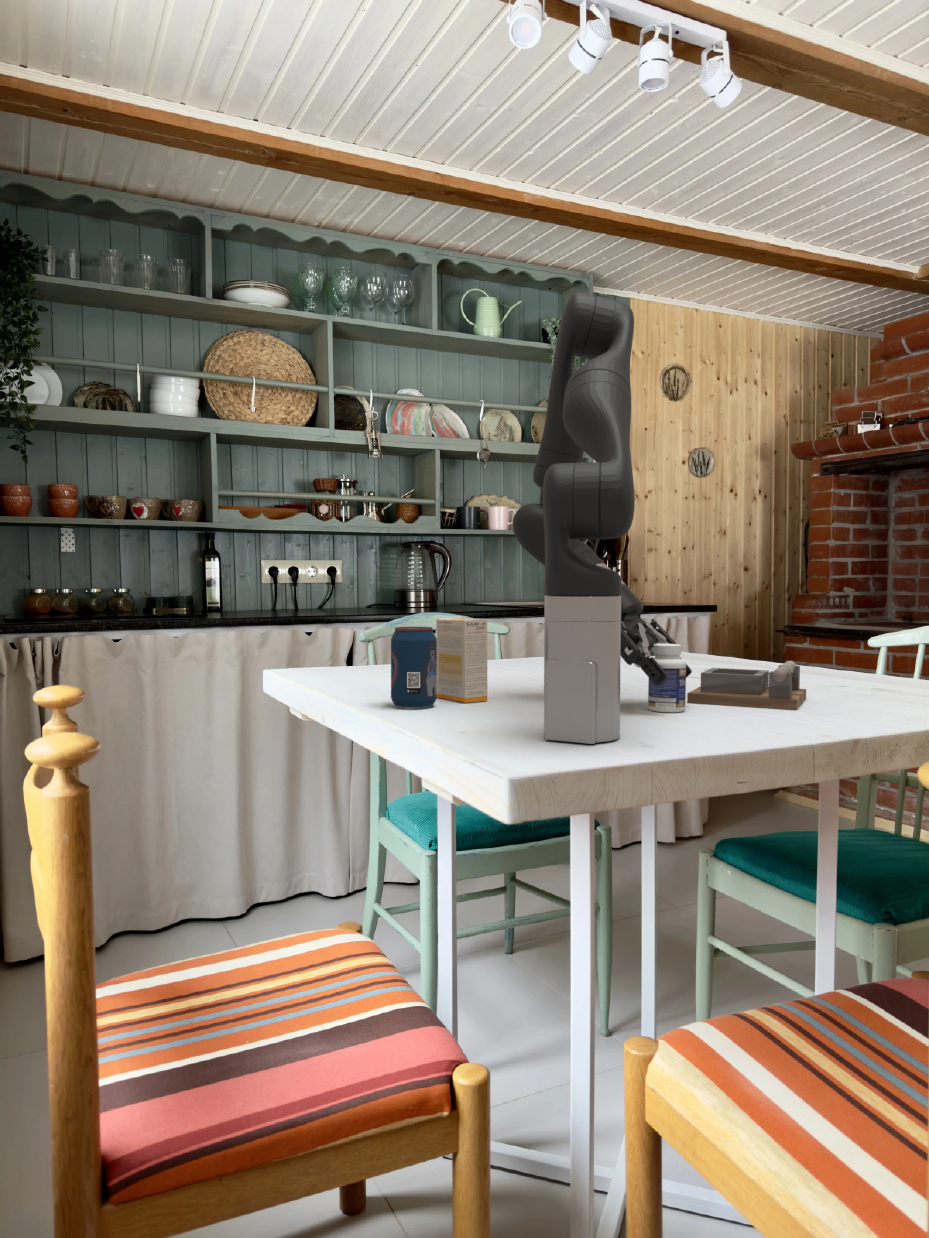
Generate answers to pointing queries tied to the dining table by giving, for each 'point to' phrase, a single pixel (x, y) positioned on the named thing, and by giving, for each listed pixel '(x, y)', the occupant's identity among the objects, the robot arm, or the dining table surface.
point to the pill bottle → (668, 680)
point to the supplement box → (462, 659)
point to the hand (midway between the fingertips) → (675, 679)
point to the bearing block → (751, 688)
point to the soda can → (413, 667)
